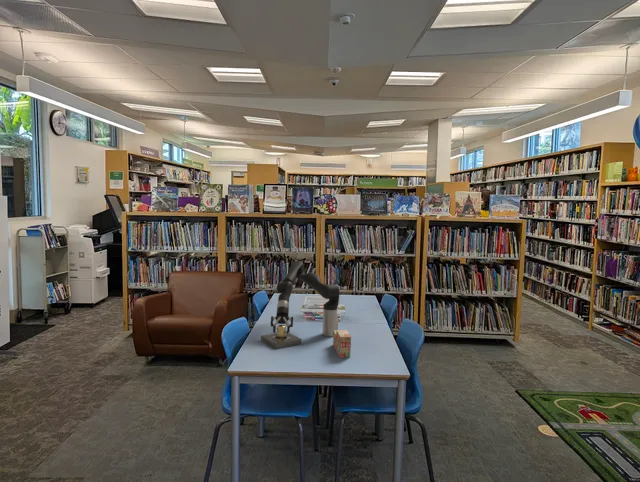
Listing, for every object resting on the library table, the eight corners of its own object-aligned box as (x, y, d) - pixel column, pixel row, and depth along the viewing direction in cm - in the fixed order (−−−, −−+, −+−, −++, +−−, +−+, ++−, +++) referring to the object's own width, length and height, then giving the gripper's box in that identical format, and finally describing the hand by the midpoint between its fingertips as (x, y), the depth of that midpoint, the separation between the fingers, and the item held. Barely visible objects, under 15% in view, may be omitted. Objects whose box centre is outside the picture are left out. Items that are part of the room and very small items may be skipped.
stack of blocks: (332, 345, 248) (333, 325, 247) (342, 344, 249) (343, 325, 248) (339, 358, 227) (340, 336, 226) (350, 357, 228) (351, 336, 227)
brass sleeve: (282, 340, 254) (282, 324, 253) (286, 342, 250) (287, 326, 249) (275, 341, 251) (275, 325, 250) (279, 343, 247) (280, 327, 246)
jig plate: (286, 335, 263) (286, 331, 262) (301, 343, 248) (301, 339, 248) (261, 340, 252) (261, 335, 252) (275, 349, 238) (275, 344, 237)
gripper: (294, 312, 262) (293, 335, 251) (272, 311, 261) (269, 335, 251) (294, 306, 256) (292, 329, 245) (271, 305, 256) (268, 329, 245)
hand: (281, 332), depth 248 cm, fingers open, 7 cm apart
